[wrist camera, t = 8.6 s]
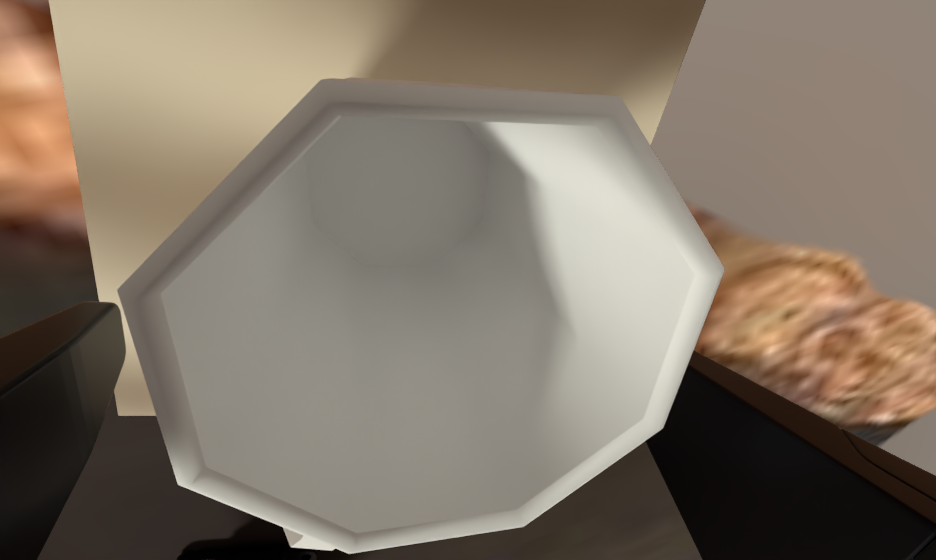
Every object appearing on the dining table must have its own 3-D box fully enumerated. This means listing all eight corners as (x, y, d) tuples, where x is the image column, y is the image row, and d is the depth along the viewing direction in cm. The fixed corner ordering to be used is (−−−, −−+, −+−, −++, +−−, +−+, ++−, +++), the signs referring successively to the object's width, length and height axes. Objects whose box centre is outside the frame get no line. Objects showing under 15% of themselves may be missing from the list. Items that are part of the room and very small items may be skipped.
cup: (575, 100, 13) (840, 228, 6) (416, 384, 16) (466, 664, 10) (303, -55, 10) (214, -150, 3) (185, 329, 14) (26, 669, 7)
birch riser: (517, 348, 22) (548, 413, 18) (160, 335, 18) (118, 415, 14) (629, -8, 15) (708, -8, 12) (110, -154, 11) (13, -213, 8)
